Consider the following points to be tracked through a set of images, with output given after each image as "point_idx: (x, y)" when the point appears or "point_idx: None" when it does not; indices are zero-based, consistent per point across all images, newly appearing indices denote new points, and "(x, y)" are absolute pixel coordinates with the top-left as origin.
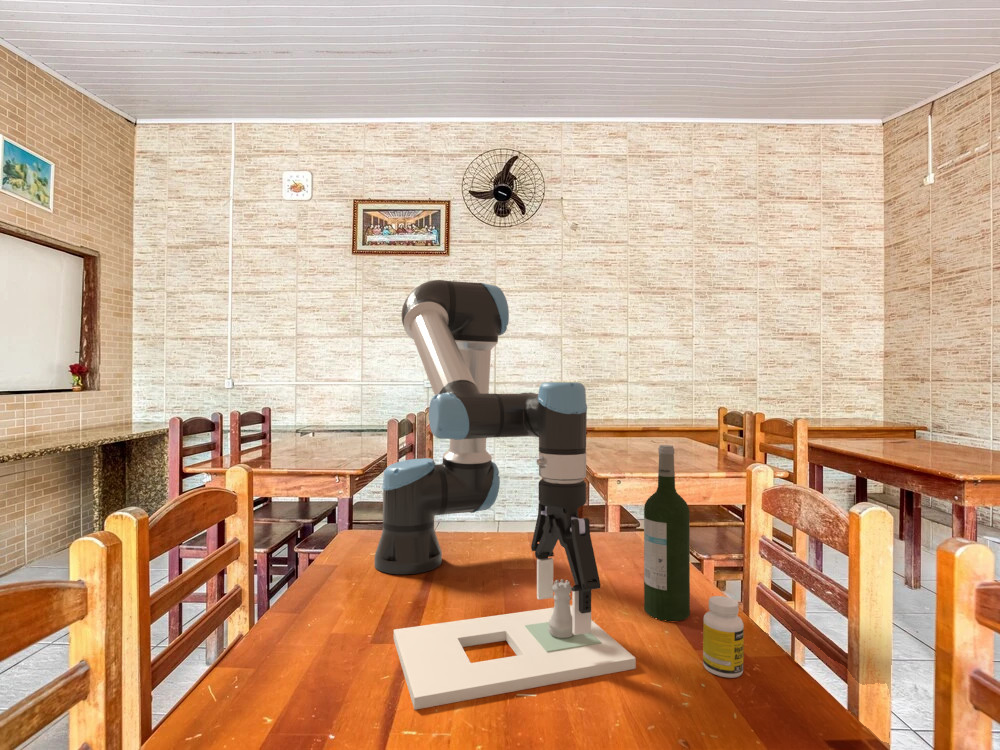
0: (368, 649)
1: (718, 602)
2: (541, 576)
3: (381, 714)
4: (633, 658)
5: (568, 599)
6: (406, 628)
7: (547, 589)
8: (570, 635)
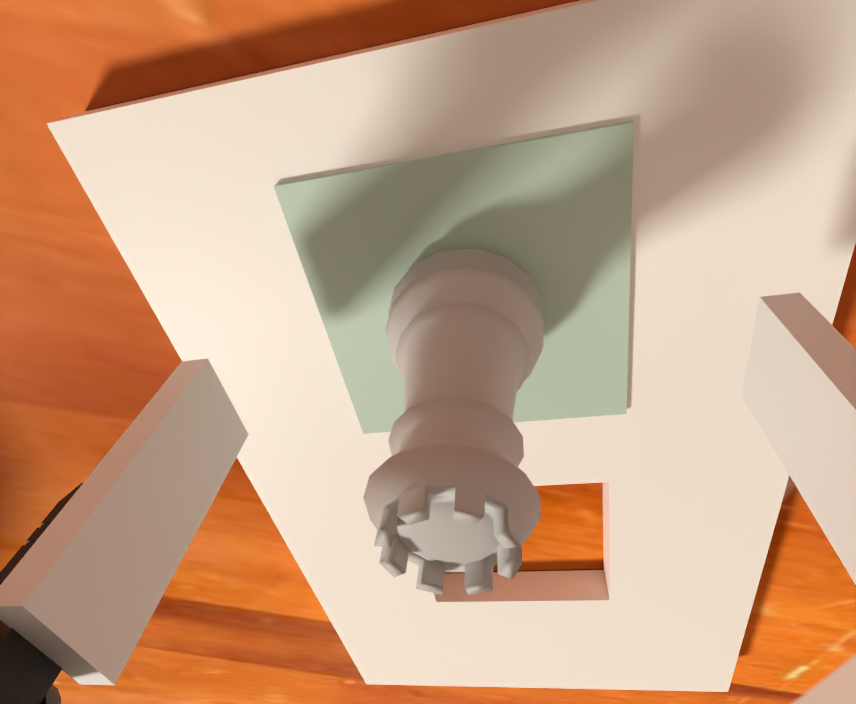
0: (418, 687)
1: None
2: (174, 540)
3: (702, 693)
4: None
5: (511, 430)
6: (362, 668)
7: (200, 430)
8: (539, 297)
